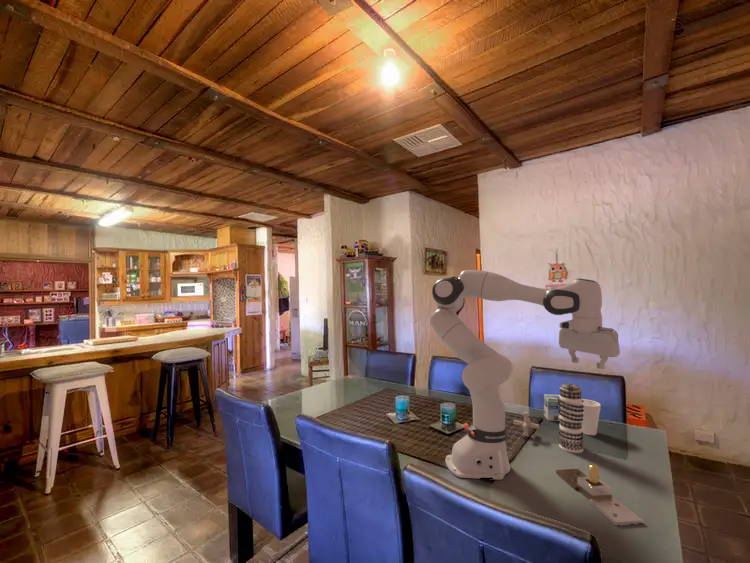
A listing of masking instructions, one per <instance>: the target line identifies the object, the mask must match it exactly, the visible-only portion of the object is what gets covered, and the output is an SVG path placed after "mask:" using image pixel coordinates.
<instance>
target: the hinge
mask: <svg viewBox="0 0 750 563" xmlns="http://www.w3.org/2000/svg"><path fill="white" fill-rule="evenodd" d="M555 473H556V474H557V475H558V476H559V477H560V478H561V479H562V480H564V481H565V482H566V484H568V485H569V486H570V487H572V488H573V489H574V491H578V492H579V493H581V494H582V495H583V497H585V498H586V499H587V500H588V501H589V504H590V505H592V506H593V507H594V509H596V511H598V512H599V513H600V514H602V515H603V517H605V518H606V519H607V520H608V519H609V520H608V521H609V522H611V523H612V524H613V525H614V526H615V525H616V526H615V527H617V525H620V526H630V524H635V525H639V524H638V523H643V524H644V519H642V518H641V517H639V516H638V515H637V514H636V513H634V512H633V511H632V510H631V509H629V508H628V507H627V506H625V505H624V504H623V503H622V502H620V501H619V500H618V499H617V498H615V497H613V487H611V486H610V485H609V484H607V483H606V482H605V481H604V480H603V479H601V478H599V486H592V485H591V484H590V483H589V475H587V474H585V473H584V472H583V471H581V470H580V469H579V468H569V469H567V468H565V469H555Z"/></svg>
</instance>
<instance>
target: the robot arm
mask: <svg viewBox="0 0 750 563" xmlns="http://www.w3.org/2000/svg"><path fill="white" fill-rule="evenodd" d="M431 295H432V298H433V299H434V300H433V301H435V303H436V305H437V308H436V310H434V311H433V312H432V314H431V316H430V318H429V322H430V323H429V324H430V325H431V328H432V329H433V330H434V332H435V334H436V335H437V336H438V338H439V339H440V341H441V342H442V343H443V344H444V345H445V347H446V348H447V349H448V350H449V351H450V352H451V353H452V355H454V357H455V358H457V359H459V360H460V361H461V360H462V361H463V362H465V363H466V364H467V365H466V366H464V368H463V369H462V373H461V378H462V382H463V384H464V386H465V387H466V388H467V389H468V391H469V393H470V394H469V395H470V398H471V402H472V423H471V424H470V425H469V423H467V422H465V423H463V428H464V429H465V431H467V434H466V435H465V436H463V437H462V438H461V439H459V440H458V441H457V442H455V443H454V444H453V446H452V450H451V454H448V455H446V457H445V462H444V463H445V465H446V467H447V469H448V470H449V472H450V473H452V475H454V476H456V477H457V478H465V479H480V478H482V477H492V478H493V479H492V480H498V481H499V480H500V481H501V480H503V479H504V478H505V476H506V474H508V473H510V471H511V465H510V462H509V458H508V452H507V442H508V441H507V439H508V438H507V436H508V435H507V434H508V433H507V427H506V406H505V404H504V403H503V401H502V399H501V396H500V395H501V394H500V391H499V390H500V385H502V384H504V383H506V382H507V381H508V380H509V379H510V378H511V376H512V374H513V372H514V366H513V363H512V361H511V360H510V359H509V358H508V357H507V356H506V355H503V354H501V353H499V352H497V351H496V350H494V349H493V348H492V347H490V346H489V345H488V344H486V343H485V342H484V341H482V340H481V339H480V338H479V337H478V336H477V335H476V334H474V332H473V331H472V330H471V329H470V328H469V327H468V325H466V324H465V323H464V321H463V320H461V318H460V317H459V314H460V313H461V311H462V310H463V309H464V306H465V303H466V302H465V298H472V297H473V298H477V299H481V300H486V301H491V302H504V301H513V300H514V301H522V302H527V303H532V304H536V305H540V306H542V307H544V309H545V310H546V311H547V312H548V313H550V314H551V315H554V316H563V315H568V314H571V316H572V318H571V319H569V320H565V321H562V322H559V328H560V330H559V332H558V345H559V347H560V348H561V349H565V350H568V354H569V355H570V358H571V363H573V364H578V363H579V362H580V361H579V360H580V359H579V357H577V354H576V353H577V352H581V353H587V354H590V355H591V354H593V355H597V356H599V359H600V361H599V362H596V368H597V369H601V370H604V369H606V368H605V367H606V366H605V365H606V363H607V361H608V359H609V358H617V357H619V355H620V352H621V349H620V343H619V342H620V341H619V333H618V332H617V331H616V330H615V329H614V328H611V327H603V315H602V311H601V309H602V306H603V297H602V289H601V286H600V284H599V282H597V281H595V280H592V279H588V278H587V279H585V278H575V279H573V280H572V281H570V282H568V283H567V284H564V285H561V286H559V287H553V288H548V289H547V288H542V287H536V286H531V285H525V284H521V283H519V282H517V281H514V280H513V279H510V278H508V277H507V276H503V275H502V274H499V273H496V272H493V271H492V272H491V271H488V270H487V271H486V270H481V269H479V270H478V269H464V270H463V271H461V272H460V274H459V275H458V277H456V276H451V277H444V278H440V279H438V280H436V282H434V284H433V286H432V290H431Z"/></svg>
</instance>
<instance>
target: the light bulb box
mask: <svg viewBox="0 0 750 563" xmlns="http://www.w3.org/2000/svg"><path fill="white" fill-rule="evenodd" d="M559 395H560V394H549V393H544V394H543V417H544V418H546V420H547V421H552V422H553V421H554V422H560V418H559V413H558V410H559V408H558V406H559V405H558V399H557V398H558V396H559ZM559 399H560V398H559Z"/></svg>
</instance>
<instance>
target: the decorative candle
mask: <svg viewBox="0 0 750 563" xmlns="http://www.w3.org/2000/svg"><path fill="white" fill-rule="evenodd" d="M558 389H559V394H558V395H559V396H558V398H557V399H558V405H559V406H558V408H559V410H558V413H559V418H560V421H559V427H558V430H559V431H558V435H559V436H558V439H559V440H558V443H559V444H558V447H559V448H560V449H561V450H564V451H565V452H568V453H572V454H581V453H583V452H584V441H583V439H584V436H583V435H584V434H583V432H582V427H581V426H582V423H581V422H582V421H583V418H581V417H583V416H584V415H583V414H581V412H583V411H584V410H583V409H582V408H583V407H584V406H583V405H582V404H581V402H583V400H582V399H583V397H582V392H583V389H581V387H580V386H579V385H578V384H575V383H562V384H561V385H560V386H559V388H558ZM559 398H560V399H559Z"/></svg>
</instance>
